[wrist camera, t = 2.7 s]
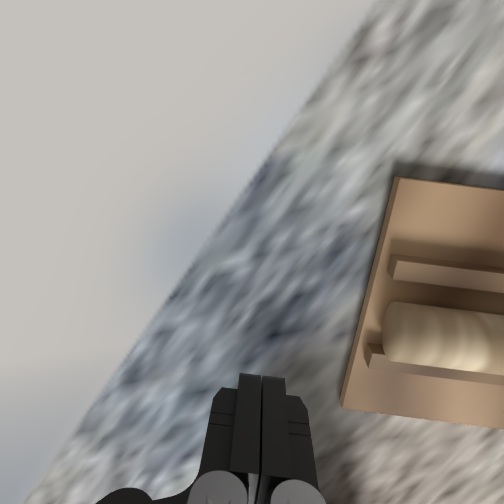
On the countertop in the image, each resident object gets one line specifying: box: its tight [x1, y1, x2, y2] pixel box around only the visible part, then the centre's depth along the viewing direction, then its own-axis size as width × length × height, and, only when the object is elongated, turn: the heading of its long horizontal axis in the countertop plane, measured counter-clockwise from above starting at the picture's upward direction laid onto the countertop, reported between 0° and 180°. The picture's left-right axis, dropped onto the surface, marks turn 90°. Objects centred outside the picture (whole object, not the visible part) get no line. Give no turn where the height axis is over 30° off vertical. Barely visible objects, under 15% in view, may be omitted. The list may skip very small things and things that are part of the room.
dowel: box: [382, 301, 504, 375], centre depth 18 cm, size 8×3×3 cm, turn 83°
